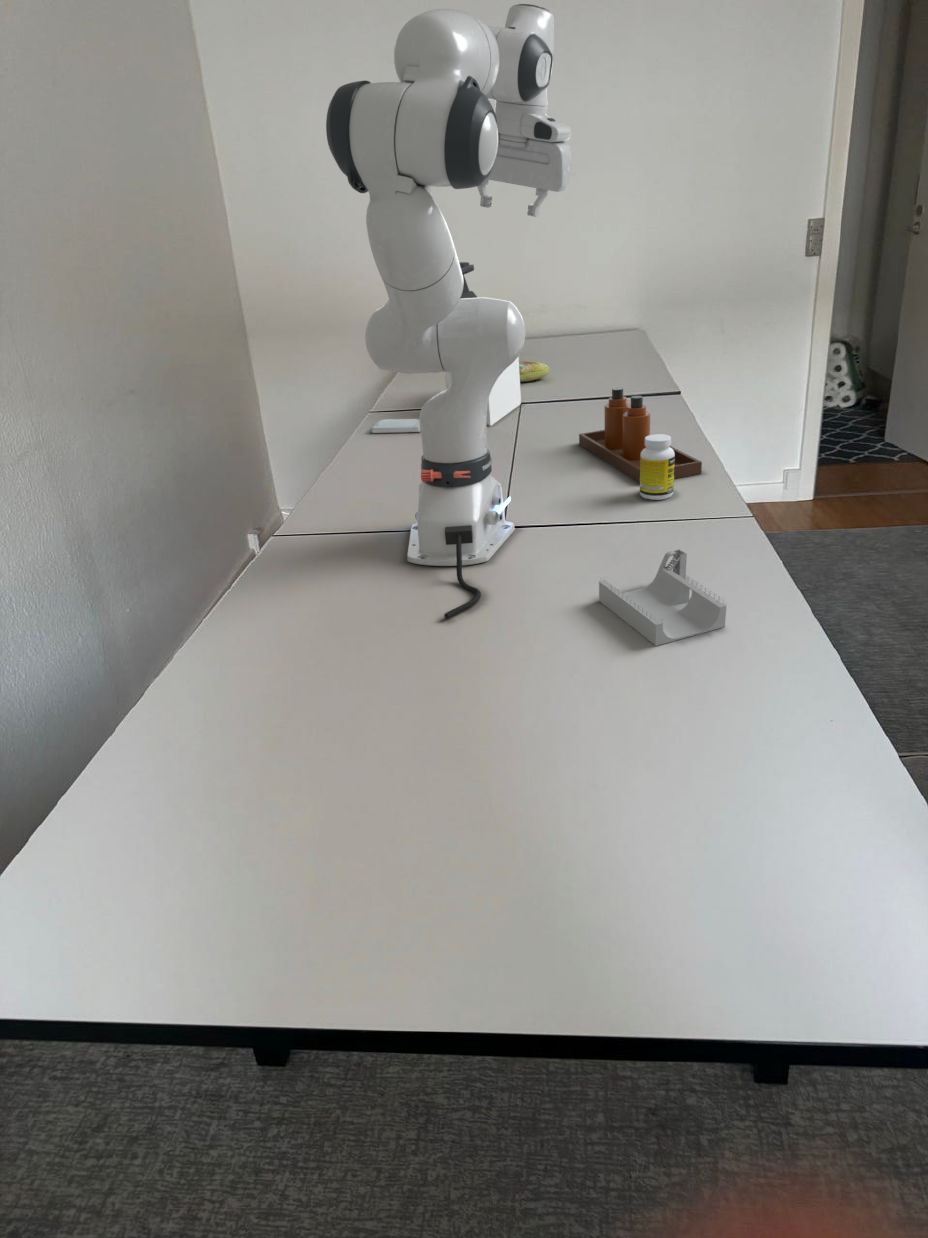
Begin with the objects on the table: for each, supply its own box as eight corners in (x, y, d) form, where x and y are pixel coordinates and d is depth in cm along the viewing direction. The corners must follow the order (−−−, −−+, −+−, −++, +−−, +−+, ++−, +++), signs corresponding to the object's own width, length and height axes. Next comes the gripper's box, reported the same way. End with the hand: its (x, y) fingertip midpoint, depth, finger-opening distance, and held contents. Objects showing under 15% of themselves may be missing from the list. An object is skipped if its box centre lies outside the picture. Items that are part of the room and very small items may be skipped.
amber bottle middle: (654, 457, 176) (655, 397, 170) (629, 461, 174) (630, 401, 169) (642, 450, 180) (642, 392, 175) (618, 454, 179) (618, 396, 174)
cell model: (551, 373, 247) (503, 358, 245) (542, 397, 252) (495, 382, 250) (550, 358, 255) (503, 344, 253) (542, 381, 260) (496, 367, 258)
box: (451, 429, 211) (445, 372, 204) (445, 394, 246) (441, 344, 239) (530, 422, 211) (527, 364, 204) (513, 387, 246) (510, 337, 240)
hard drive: (371, 427, 213) (418, 426, 210) (381, 418, 220) (426, 417, 217) (372, 433, 214) (418, 432, 211) (382, 425, 221) (427, 423, 218)
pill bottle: (673, 500, 154) (675, 441, 149) (639, 501, 155) (640, 442, 150) (673, 489, 159) (675, 432, 154) (640, 489, 160) (640, 433, 155)
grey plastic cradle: (599, 600, 121) (598, 568, 118) (678, 580, 125) (679, 548, 122) (655, 646, 108) (656, 611, 106) (741, 622, 112) (744, 587, 110)
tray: (701, 473, 165) (701, 461, 164) (643, 484, 163) (643, 472, 162) (629, 435, 193) (629, 425, 191) (579, 444, 190) (578, 433, 189)
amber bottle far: (634, 446, 183) (635, 389, 178) (611, 450, 182) (611, 392, 176) (623, 440, 188) (623, 384, 182) (600, 444, 187) (600, 387, 181)
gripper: (457, 114, 144) (450, 203, 152) (566, 131, 137) (553, 223, 145) (473, 114, 149) (466, 199, 157) (580, 130, 142) (566, 219, 150)
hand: (508, 211), depth 151 cm, fingers open, 8 cm apart
